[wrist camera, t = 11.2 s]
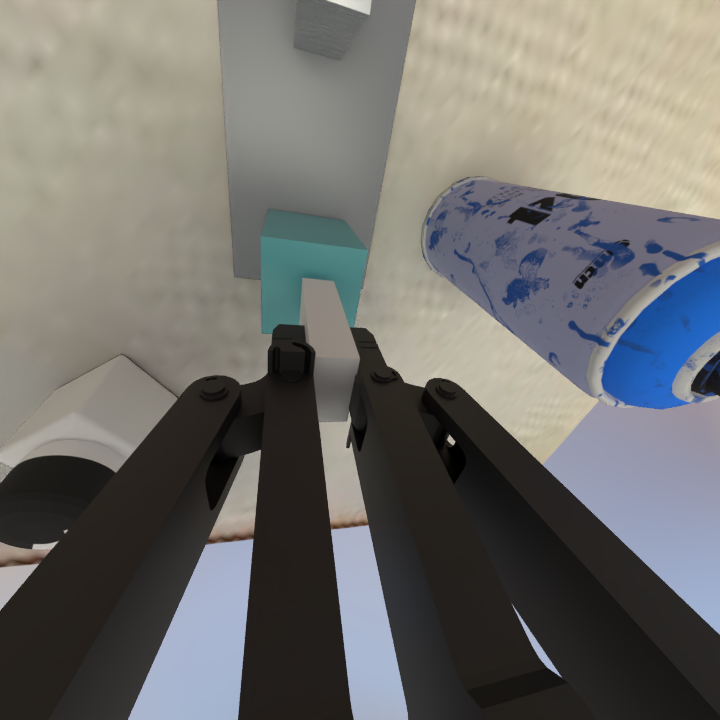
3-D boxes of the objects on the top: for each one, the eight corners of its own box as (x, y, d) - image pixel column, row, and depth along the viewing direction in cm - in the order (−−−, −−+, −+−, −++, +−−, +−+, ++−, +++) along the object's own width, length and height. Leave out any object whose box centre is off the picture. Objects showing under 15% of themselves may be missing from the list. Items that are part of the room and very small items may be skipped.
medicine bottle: (54, 389, 25) (-87, 536, 16) (122, 352, 25) (18, 482, 15) (127, 434, 30) (51, 572, 20) (187, 403, 29) (138, 531, 19)
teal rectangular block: (268, 283, 23) (261, 333, 17) (268, 208, 20) (260, 236, 14) (335, 289, 24) (351, 337, 18) (344, 220, 21) (367, 250, 15)
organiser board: (235, 274, 23) (234, 277, 22) (213, -91, 14) (211, -99, 13) (361, 286, 25) (362, 289, 25) (415, -13, 16) (419, -18, 16)
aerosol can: (518, 165, 22) (1090, 214, 6) (504, 266, 27) (816, 438, 11) (418, 188, 22) (768, 302, 6) (422, 287, 27) (625, 497, 11)
